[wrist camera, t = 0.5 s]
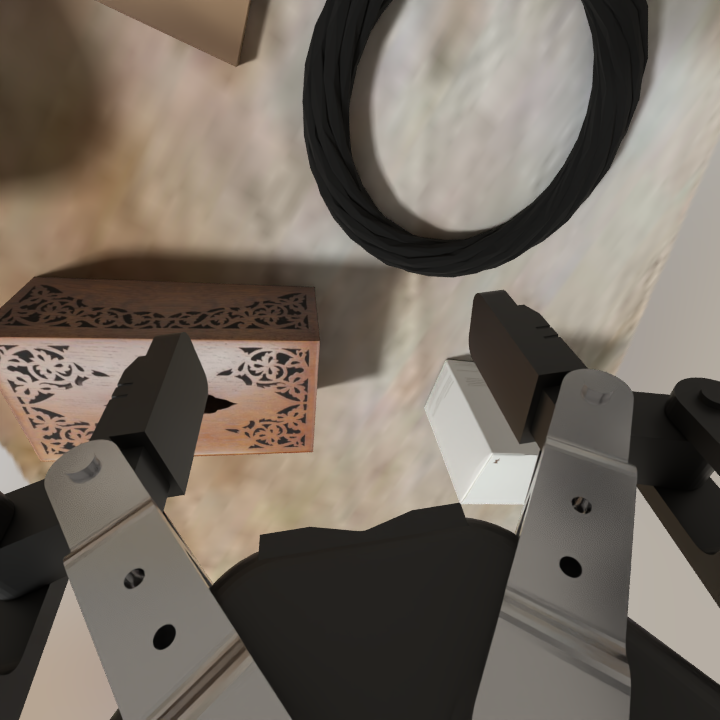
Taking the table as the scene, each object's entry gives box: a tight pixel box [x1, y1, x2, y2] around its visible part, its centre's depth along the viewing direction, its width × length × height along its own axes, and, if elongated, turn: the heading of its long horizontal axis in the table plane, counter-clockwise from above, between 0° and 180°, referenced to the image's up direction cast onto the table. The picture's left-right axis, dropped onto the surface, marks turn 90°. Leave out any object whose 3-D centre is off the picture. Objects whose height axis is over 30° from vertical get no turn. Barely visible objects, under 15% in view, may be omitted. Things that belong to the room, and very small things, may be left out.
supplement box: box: [424, 360, 540, 504], centre depth 48 cm, size 9×9×15 cm
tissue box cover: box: [0, 277, 320, 462], centre depth 40 cm, size 26×14×10 cm, turn 84°
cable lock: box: [303, 0, 648, 277], centre depth 32 cm, size 28×4×30 cm
